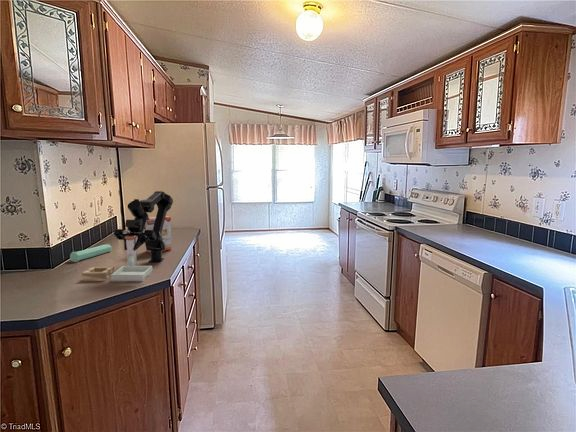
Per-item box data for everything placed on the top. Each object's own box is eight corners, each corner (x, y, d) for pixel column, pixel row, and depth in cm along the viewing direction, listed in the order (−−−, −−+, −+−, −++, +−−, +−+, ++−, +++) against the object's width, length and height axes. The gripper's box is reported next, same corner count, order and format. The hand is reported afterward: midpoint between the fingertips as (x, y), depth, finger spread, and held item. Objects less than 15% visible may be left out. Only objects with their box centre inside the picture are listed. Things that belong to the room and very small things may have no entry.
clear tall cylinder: (126, 264, 165) (124, 235, 163) (137, 263, 168) (135, 234, 166) (127, 267, 161) (125, 237, 159) (138, 265, 164) (136, 236, 161)
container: (107, 241, 211) (71, 250, 187) (114, 245, 210) (79, 255, 186) (104, 249, 212) (68, 259, 188) (112, 254, 211) (77, 264, 187)
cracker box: (148, 253, 207) (146, 218, 204) (145, 251, 212) (144, 217, 209) (172, 250, 215) (170, 216, 212) (168, 248, 220) (167, 215, 217)
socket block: (92, 273, 168) (92, 266, 167) (114, 273, 168) (114, 266, 168) (82, 280, 158) (81, 273, 157) (105, 280, 159) (104, 273, 158)
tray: (123, 271, 172) (123, 265, 171) (152, 271, 173) (152, 265, 172) (111, 281, 158) (110, 274, 157) (143, 281, 159) (142, 274, 158)
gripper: (114, 212, 165) (102, 240, 156) (153, 213, 164) (143, 241, 155) (123, 225, 174) (112, 252, 165) (160, 226, 173) (152, 253, 164)
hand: (129, 250), depth 162 cm, fingers closed on clear tall cylinder, 4 cm apart
